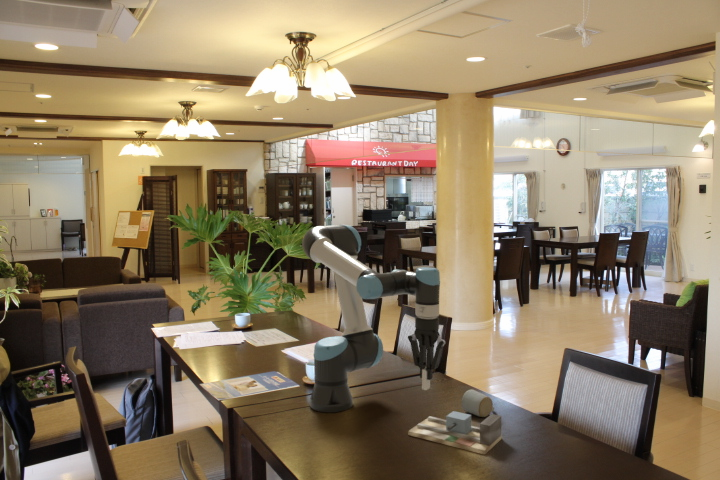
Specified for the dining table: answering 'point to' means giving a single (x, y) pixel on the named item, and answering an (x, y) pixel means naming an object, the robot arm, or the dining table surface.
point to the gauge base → (473, 441)
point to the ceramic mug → (477, 403)
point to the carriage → (458, 422)
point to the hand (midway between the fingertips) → (426, 388)
